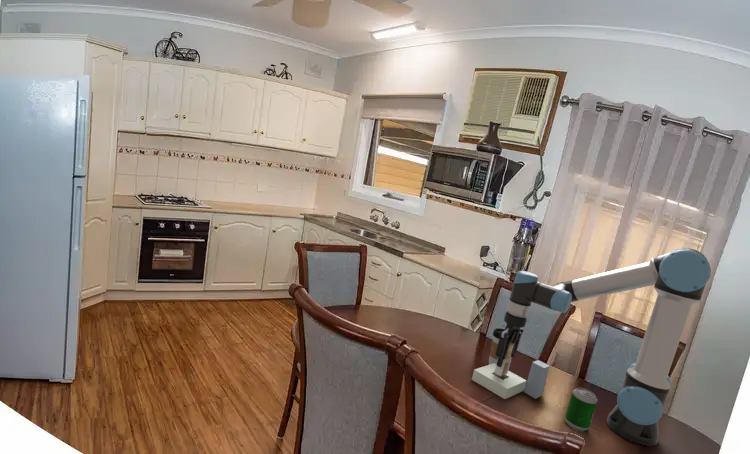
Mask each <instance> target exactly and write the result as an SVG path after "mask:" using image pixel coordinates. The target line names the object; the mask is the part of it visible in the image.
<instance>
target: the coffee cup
mask: <svg viewBox="0 0 750 454" xmlns="http://www.w3.org/2000/svg"><path fill="white" fill-rule="evenodd" d="M504 330H505V328H502V327H501V328H494V329H493V332H492V335H493V336H492V340H491V345H490V351H489V359H488V365H489V364H492V363H495V364H497V360H498V357H497V356H496V350H497V346H498V342H499V338H500V331H503V332H504Z"/></svg>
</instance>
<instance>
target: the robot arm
mask: <svg viewBox="0 0 750 454" xmlns="http://www.w3.org/2000/svg"><path fill="white" fill-rule="evenodd" d="M711 275H712V268H711V264H710V263H709V261H708V258H707V257H706V256H705V255H704V254H703V252H702V253H701V251H699V250H697V249H694V248H690V247H680V248H677V249H674V250H671V251H670V252H668V253H665V254H662V255H659V256H656V257H651V259H650V261H648V262H643V263H640V264H635V265H631V266H626V267H623V268H622V267H621V268H618V269H617V268H616V269H613V270H610V271H606V272H600V273H598V274H597V273H596V274H591V275H589V276H585V277H579V278H576V279H573V280H567V281H561V282H557V283H555V284H553V285H549V284H546V283H542V282H541V281H539V276H538V275H537V274H535V273H533V272H530V271H526V270H519V271H517V273H516V275H515V277H514V281H512V282H513V284H512V288H511V291H510V297H509V299H508V301H507V308H506V311H505V313H504V318H503V321H504V322H505V323H506V326H505V327H504V329H505V330H504V332H503V331H500V338H499V342H498V346H497V350H496V356H497V357H498V360H497V364H496V367H495V371H494V373H496V374H497V375H499V376H502V372H503V369H504V365H505V361H506V359H505V357H506V354H507V351H508V348H509V346H510V343H511V342H512V343H514V346H513V349H512V353H511V357H510V360H509V364H508V368H507V371H506V374H507V373H508V371H510V370H509V369H510V367H511V366H510V365H511V362H512V358H513V359H514V358H515V357H516V354H517V351H518V349H519V345H520V341H521V338H522V335H523V333H524V329H523V328H525V327H526V323H527V320H528V318H527V317H528V316H529V313H530V311H531V310H530V309H531V305H532V303H533V304H536V305H538V306H541V307H543V308H547V309H549V310H552V311H554V312H559V313H561V314H565V313H567V311H568V310H569V309H570V307H571V303H574V302H578V301H583V300H587V299H593V298H598V297H602V296H607V295H612V294H616V293H618V294H619V293H622V292H627V291H632V290H636V289H641V288H646V287H647V288H648V287H651V286H654V287H653V288H654V290H655V291H656V293H657V297H656V299H655V302H654V306H653V309H652V311H651V315H650V317H649V320H648V323H647V326H646V329H645V333H644V336H643V340H642V342H641V346H640V348H639V352H638V355H637V357H636V361H635V363H634V362H633V363H631V364H630V366H629V368H627V370H626V372H625V375H624V378H623V382H622V385H621V387H620V390H619V391H618V392H617V396H616V403H617V404H616V405H615V407H614V408H612V410H610V412H609V414H608V415H607V417H606V424H607V426H608V427H609V428H610V429H611V430H612V431H613V432H614V433H616V434H617V435H619V436H620V437H621V438H623V439H625V438H626V440H627V439H629V440H631V441H630V442H632V441H633V442H632V443H634V442H636V443H635V444H637V443H639V444H638V445H640V444H642V445H641V446H644V445H646V446H645V447H654V446H653V445H655V446H657V444H658V441H659V439H660V438H659V437H660V435H659V434H660V433H659V421H660V419H662V416H663V415H664V408H665V405H666V402H667V399H668V395H669V394H670V390H671V388H672V387H671V385H670V384H671V378H670V376H669V373H670V369H671V367H672V364H673V361H674V358H675V355H676V353H677V349H678V346H679V345H680V344H679V343H680V341H681V338H682V335H683V332H684V329H685V326H686V322H687V320H688V318H689V315H690V311H691V309H692V306H693V305H694V304H696V303H699V302H700V301H701V299H702V296H703V294H704V292H705V288H706V285H707V283H708V282H709V281H710V278H711ZM629 440H628V441H629Z"/></svg>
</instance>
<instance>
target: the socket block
mask: <svg viewBox="0 0 750 454" xmlns="http://www.w3.org/2000/svg"><path fill="white" fill-rule="evenodd" d="M495 367H496V364H495V363H492V364H489V363H488V365H487V364H486V365H485V366H482V367H478V368H475V369H473V373H472V377H471V380H472V381H473V382H475V383H476V384H478V385H480V386H482V387H483V388H486V389H487V390H488V391H490V392H492V393H493V394H496V395H497V396H499V397H500V398H502V399H504V400H506V399H509V398H511V397H513V396H515V395H518V394H520V393H521V392H524V391H525V387H526V383H527V380H528V379H527V380H526V379H524V378H523V377H521V376H519V375H517V374H516V373H513V372H512V371H510V370H508V373H507V374H506V375H505V379H504V380H502V379H501V378H499V377H497V376H495V373H494V371H495Z"/></svg>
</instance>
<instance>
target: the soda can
mask: <svg viewBox="0 0 750 454" xmlns="http://www.w3.org/2000/svg"><path fill="white" fill-rule="evenodd" d="M598 400H599V399H598V398H597V396H596V394H595V393H594V392H593V391H591V390H589V389H586V388H583V387H577V388H575V389H573V390H572V393H571V395H570V400H569V403H568V406H567V409H566V413H565V417H564V420H565V422H566V424H567V425H568V426H569V427H570V428H572V429H574V430H576V431H578V432H585V431H588V430H589V429H590V427H591V423H592V420H593V417H594V414H595V410H596V408H597V405H598Z"/></svg>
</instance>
